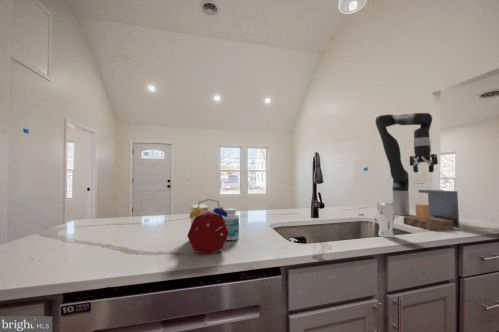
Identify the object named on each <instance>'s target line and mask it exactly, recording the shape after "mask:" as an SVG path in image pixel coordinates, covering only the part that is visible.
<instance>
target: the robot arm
mask: <svg viewBox="0 0 499 332" xmlns="http://www.w3.org/2000/svg"><path fill="white" fill-rule="evenodd" d="M432 121H433V116H432V115H431V114H430V113H429V112H414V113H409V114H401V115H396V114H382V115H378V116H377V117H376V118H375V126H376V129H377V130H378V133H379V135H380V139H381V144H382V145H383V147H382V148H383V150H384V153H385V156H386V159H387V161H388V164H389V168H390V169H389V170H390V175H391V176H390V177H391V179H392V200H391V204H393V207H394V215H396V216H410V214H411V213H410V212H411V211H410V197H409V196H410V195H409V185H410V183H409V181H410V180H409V173H408V171H407V170H405V168H404V165H403V163H402V159H401V156H402V155H401V149H400V145H399V142H398V140H397V139H396V138H395V137H394V136H393V135H392V134H391V133H390V132H389V131H388V129H387V127H388V128H389V127H391V126H396V125H398V126H399V125H400V126H412V125H413V126H420V127H419V128H417V129H414V131H413V149H414V150H413V152H414V153H413V154H414V156H413V155H411V156H410V155H409V166H412V168H413V169H412V171H413V173H419V167H418V166H419V165H420V164H421V163H425V164H427V165H428V172H429V173H434V171H435V168H434V167H435V165H438V164H439V162H438V154H436V153H431V152H432V149H431V139H430V128H431V126H432V125H431V124H432Z"/></svg>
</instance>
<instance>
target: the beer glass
mask: <svg viewBox="0 0 499 332" xmlns="http://www.w3.org/2000/svg"><path fill="white" fill-rule="evenodd" d="M376 218H377V219H376V220H377V223H378V236H379V237H381V238H388V239H389V238H390V239H392V238H395V234H394V231H393V230H394V228H393V227H394V221H395V214H394V207H393V204H392V203H387V202H377V203H376Z"/></svg>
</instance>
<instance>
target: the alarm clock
mask: <svg viewBox="0 0 499 332" xmlns="http://www.w3.org/2000/svg"><path fill="white" fill-rule="evenodd" d="M207 201H211V202H215V203H217V207H215V208H214V209H212V211H209V210H208V212H206V213H204V214H202V213H203V212H205V210H206V209H207V207H208V206H207V207H206V208H205V209H204V210H203V209H202V208H200V209H197V208H199V205H201V203H203V202H207ZM197 203H198V204H197V205H198V207H197V208H196V209H195V208H194V211H192V212H191V211H190V213H189V218H188V219H191V218H193V217H195V216H197V217H195V219H194V221H193V223H192V225H191V224H190V228H189V229H188V233H187V238H188V241H189V243H190V245H191V248H192V250H193V251H194V252H196V253H197V252H199V253H201V254H204V255H206V254H209V255H211V254H214V253H215V252H218V251H220V250H222V251H223V248H224V245H225V244H226V239H227V236H228V234H229V233H228V228H227V226H226V223H225V221H224V219H223V216H224V217H228V216H227V212H226V209H225V210H224V208H223V206H221V205H220V201H218V200H214V199H211V198H207V199H205V200H204V199H203V200H201V201H198V202H197ZM200 214H202V215H200ZM198 215H199V216H198Z"/></svg>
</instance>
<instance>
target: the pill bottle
mask: <svg viewBox="0 0 499 332" xmlns="http://www.w3.org/2000/svg"><path fill="white" fill-rule="evenodd" d="M225 211H226V212H227V216H228V217H224V216H223V219H224V221H225V223H226V226H227V228H228V233H229V234H228V236H227V239H226V240H229V241H228V242H231V241H230V240H234V241H236V239H237V240H238V239H239V238H240V215H239V214H238V213H237V208H231V207H230V208H225Z"/></svg>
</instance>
